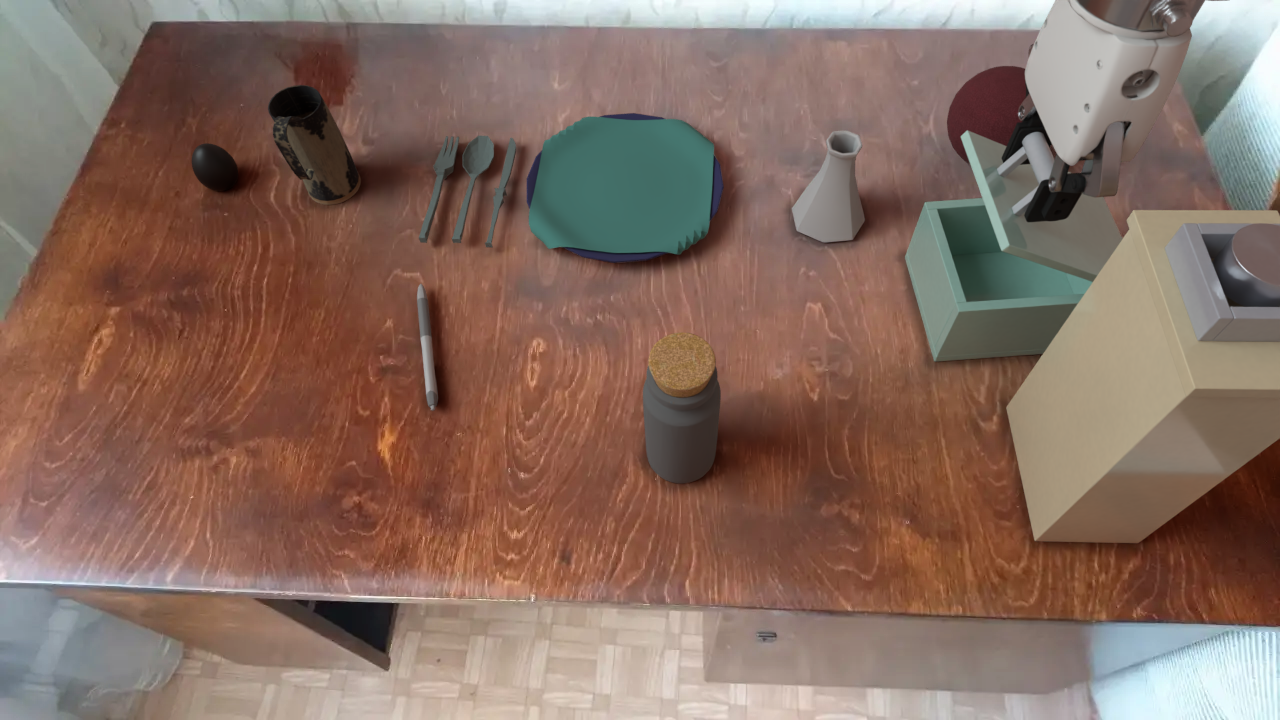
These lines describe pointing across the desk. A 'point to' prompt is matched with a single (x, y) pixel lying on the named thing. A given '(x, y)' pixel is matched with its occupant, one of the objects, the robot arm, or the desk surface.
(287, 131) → the mug
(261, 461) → the desk surface
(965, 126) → the decorative ball
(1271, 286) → the flush button
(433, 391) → the pen
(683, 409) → the bottle
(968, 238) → the bowl box
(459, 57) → the desk surface
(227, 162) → the egg
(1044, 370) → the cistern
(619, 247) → the cutlery set
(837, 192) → the flask
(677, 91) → the desk surface
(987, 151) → the pale green box lid
